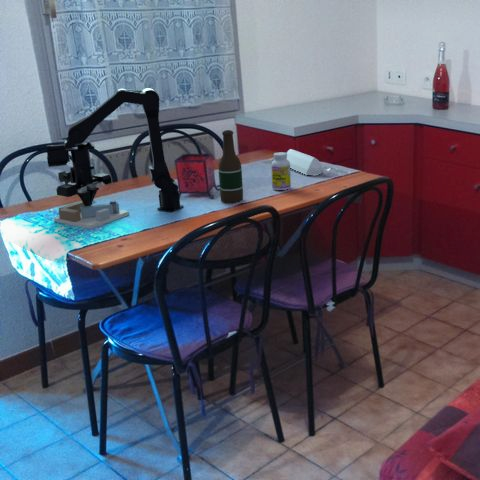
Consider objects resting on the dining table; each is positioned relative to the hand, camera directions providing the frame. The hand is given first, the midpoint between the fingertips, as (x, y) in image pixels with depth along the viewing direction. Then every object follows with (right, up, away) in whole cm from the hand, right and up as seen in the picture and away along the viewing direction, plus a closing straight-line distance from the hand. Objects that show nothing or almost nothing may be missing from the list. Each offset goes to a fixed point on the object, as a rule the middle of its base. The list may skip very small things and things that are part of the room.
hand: (88, 210), depth 225 cm
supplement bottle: (+64, +8, +22) cm, 69 cm away
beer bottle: (+47, +3, +11) cm, 48 cm away
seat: (+1, -3, 0) cm, 3 cm away
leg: (+4, -1, -1) cm, 5 cm away
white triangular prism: (+74, +17, +46) cm, 89 cm away
